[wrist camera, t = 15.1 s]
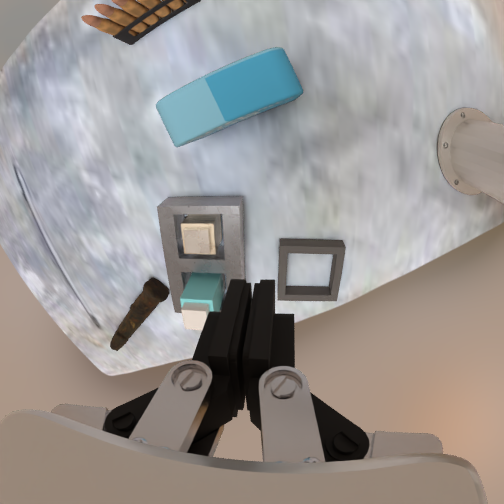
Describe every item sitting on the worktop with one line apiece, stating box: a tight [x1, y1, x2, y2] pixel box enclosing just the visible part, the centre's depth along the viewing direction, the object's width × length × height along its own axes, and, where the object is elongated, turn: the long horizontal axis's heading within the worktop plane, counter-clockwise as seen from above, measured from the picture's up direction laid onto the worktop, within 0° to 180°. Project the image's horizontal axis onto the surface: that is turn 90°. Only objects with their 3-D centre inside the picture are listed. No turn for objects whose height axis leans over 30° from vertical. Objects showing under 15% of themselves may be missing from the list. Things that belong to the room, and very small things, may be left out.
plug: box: [180, 272, 226, 330], centre depth 37 cm, size 4×4×10 cm
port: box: [157, 196, 245, 313], centre depth 38 cm, size 10×16×5 cm, turn 1°
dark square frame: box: [278, 239, 346, 301], centre depth 39 cm, size 8×8×2 cm
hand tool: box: [110, 278, 169, 351], centre depth 45 cm, size 19×4×5 cm, turn 137°
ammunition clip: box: [81, 0, 201, 45], centre depth 20 cm, size 11×2×12 cm, turn 118°
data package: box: [156, 47, 303, 147], centre depth 25 cm, size 12×4×12 cm, turn 114°
